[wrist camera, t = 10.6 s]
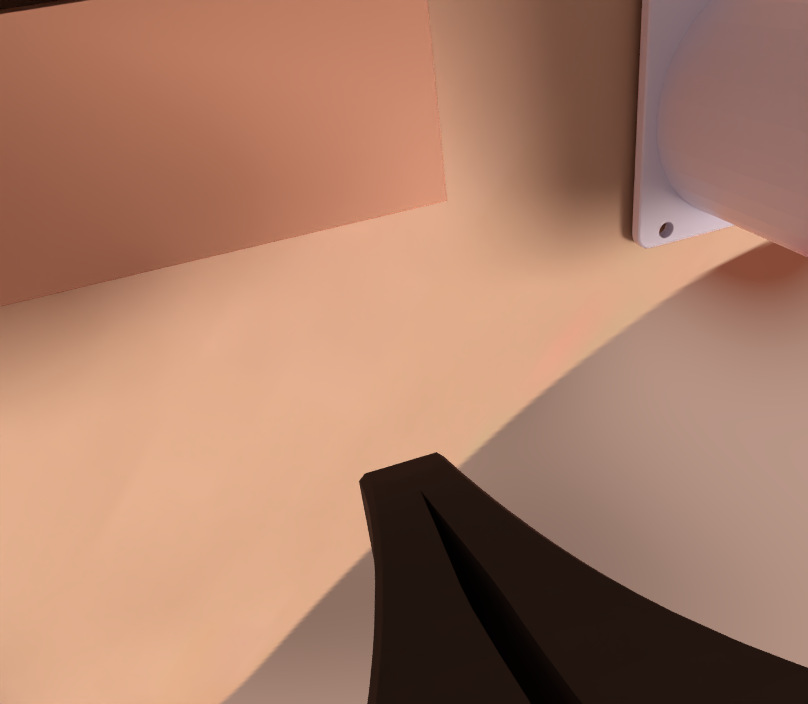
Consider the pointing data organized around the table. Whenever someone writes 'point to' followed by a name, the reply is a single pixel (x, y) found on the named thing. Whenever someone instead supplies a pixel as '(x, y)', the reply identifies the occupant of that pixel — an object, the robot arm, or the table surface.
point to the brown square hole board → (204, 130)
